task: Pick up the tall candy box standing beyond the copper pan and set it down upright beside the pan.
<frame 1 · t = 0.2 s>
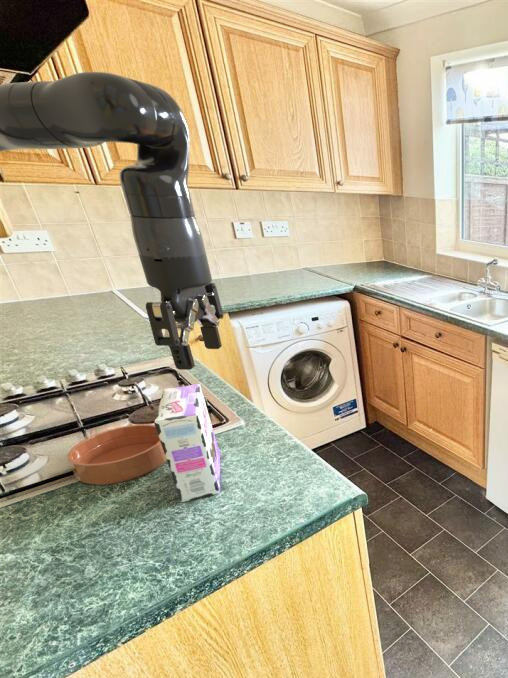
hand: (200, 357, 65), 26 cm above the counter, tool pointing down, fingers open, 8 cm apart
pan: (127, 462, 81), on the counter
candy box: (203, 478, 79), on the counter
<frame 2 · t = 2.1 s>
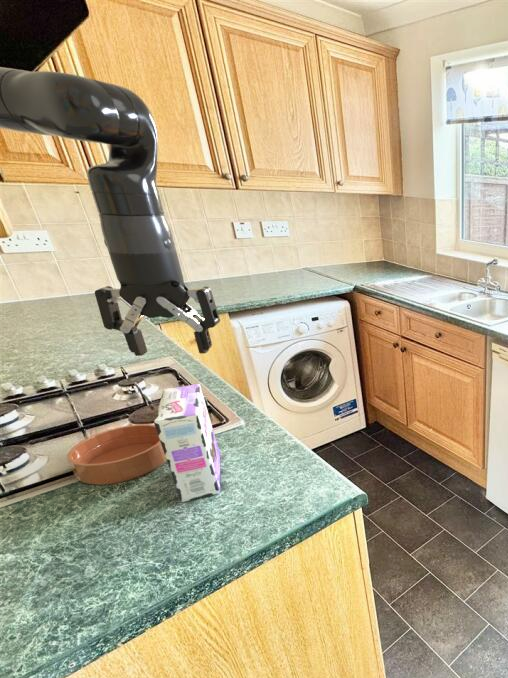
hand: (173, 353, 67), 26 cm above the counter, tool pointing down, fingers open, 8 cm apart
nothing on the counter moved.
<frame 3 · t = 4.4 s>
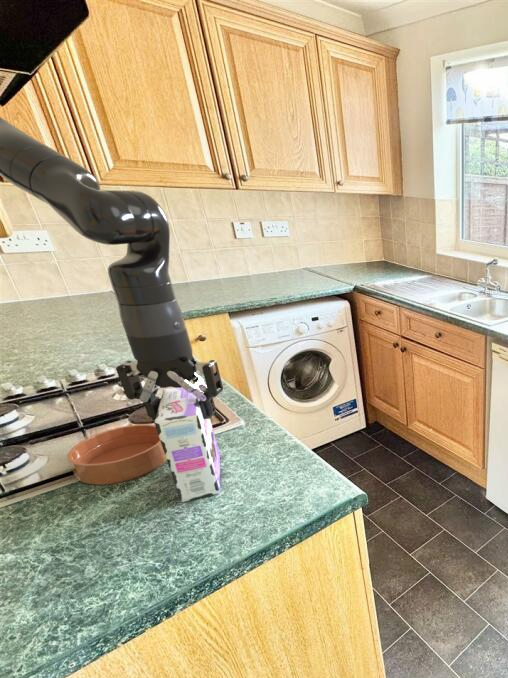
hand: (184, 417, 73), 13 cm above the counter, tool pointing down, fingers closed on candy box, 7 cm apart
candy box: (202, 478, 79), on the counter, touching gripper
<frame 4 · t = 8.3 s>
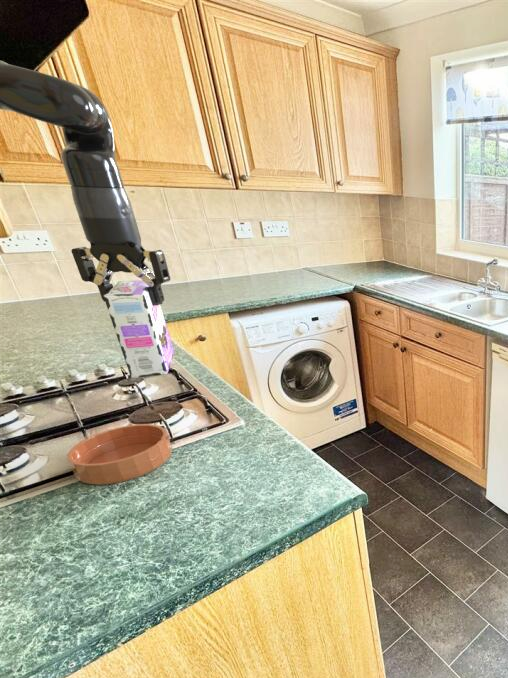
hand: (135, 304, 82), 28 cm above the counter, tool pointing down, fingers closed on candy box, 7 cm apart
candy box: (154, 365, 88), point 15 cm above the counter, touching gripper
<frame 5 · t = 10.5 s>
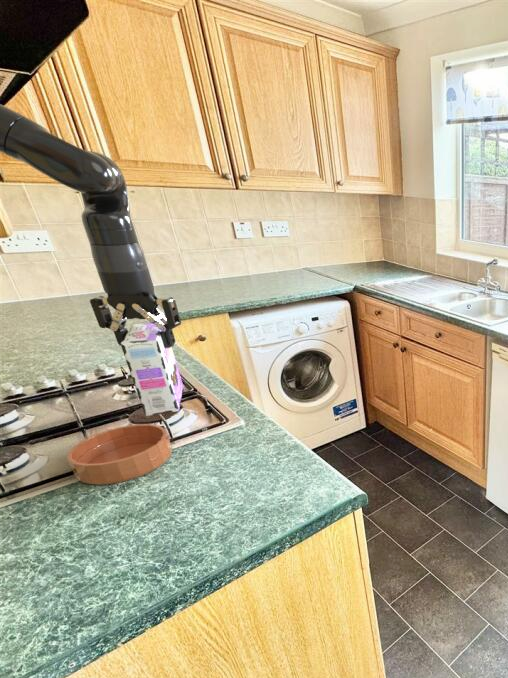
hand: (148, 346, 88), 18 cm above the counter, tool pointing down, fingers closed on candy box, 7 cm apart
candy box: (166, 402, 94), point 5 cm above the counter, touching gripper
when the fingers open (13 cm above the counter, at t = 12.4 s): candy box stays where it is, on the counter.
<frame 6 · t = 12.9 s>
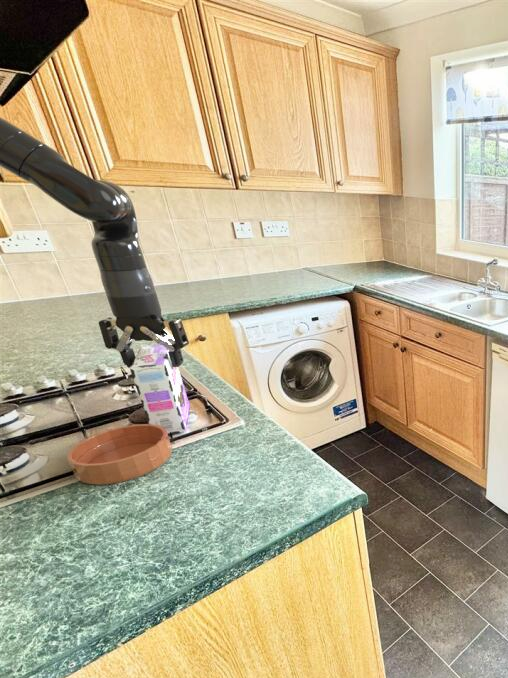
hand: (155, 366, 90), 14 cm above the counter, tool pointing down, fingers open, 8 cm apart
candy box: (173, 421, 96), on the counter
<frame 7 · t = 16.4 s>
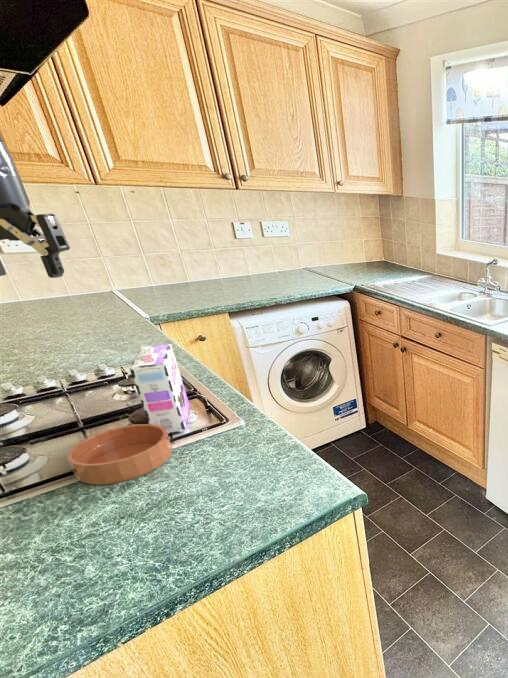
hand: (27, 276, 73), 34 cm above the counter, tool pointing down, fingers open, 8 cm apart
nothing on the counter moved.
at the end: candy box inside the target area (0.1 cm from its centre), on the counter; candy box tilted 0°; the gripper is holding nothing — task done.
